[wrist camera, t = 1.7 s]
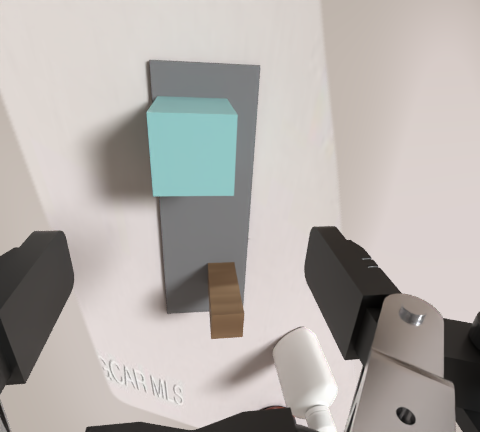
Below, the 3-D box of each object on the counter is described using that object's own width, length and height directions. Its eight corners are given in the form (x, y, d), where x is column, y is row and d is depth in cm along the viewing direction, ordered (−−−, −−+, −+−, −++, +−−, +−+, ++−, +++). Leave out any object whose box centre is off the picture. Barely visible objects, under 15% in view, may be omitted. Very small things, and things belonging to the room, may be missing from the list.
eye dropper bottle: (318, 346, 40) (362, 453, 30) (274, 359, 40) (303, 471, 30) (312, 322, 38) (358, 428, 27) (266, 336, 38) (294, 447, 28)
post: (207, 262, 32) (211, 315, 25) (234, 262, 32) (244, 313, 26) (207, 284, 33) (211, 338, 27) (233, 282, 33) (242, 336, 27)
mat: (150, 59, 23) (149, 60, 23) (259, 65, 24) (260, 65, 24) (167, 310, 34) (167, 313, 34) (242, 306, 35) (242, 309, 35)
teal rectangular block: (157, 96, 24) (146, 112, 18) (227, 98, 25) (237, 114, 19) (161, 163, 26) (153, 196, 21) (225, 163, 27) (233, 195, 21)
